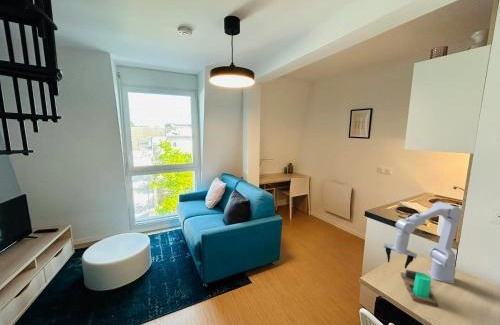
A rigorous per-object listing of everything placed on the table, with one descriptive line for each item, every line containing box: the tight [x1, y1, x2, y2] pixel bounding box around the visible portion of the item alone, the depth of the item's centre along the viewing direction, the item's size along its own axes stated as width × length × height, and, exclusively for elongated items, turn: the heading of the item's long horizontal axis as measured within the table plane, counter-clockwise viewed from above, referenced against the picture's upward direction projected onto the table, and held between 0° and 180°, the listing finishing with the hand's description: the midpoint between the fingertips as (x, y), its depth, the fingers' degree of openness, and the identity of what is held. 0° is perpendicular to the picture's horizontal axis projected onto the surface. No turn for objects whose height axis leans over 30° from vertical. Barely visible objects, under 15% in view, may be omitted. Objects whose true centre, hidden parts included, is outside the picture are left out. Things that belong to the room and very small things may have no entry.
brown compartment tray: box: [400, 269, 439, 308], centre depth 110 cm, size 20×10×5 cm, turn 159°
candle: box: [412, 271, 432, 299], centre depth 106 cm, size 6×6×12 cm
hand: (396, 264), depth 115 cm, fingers open, 7 cm apart
